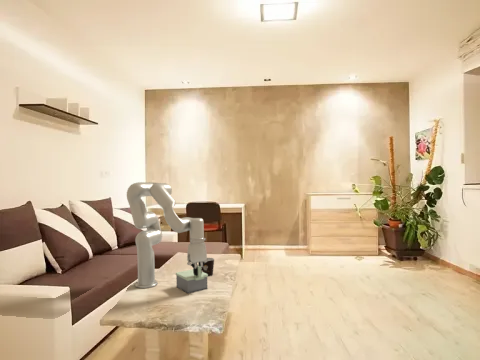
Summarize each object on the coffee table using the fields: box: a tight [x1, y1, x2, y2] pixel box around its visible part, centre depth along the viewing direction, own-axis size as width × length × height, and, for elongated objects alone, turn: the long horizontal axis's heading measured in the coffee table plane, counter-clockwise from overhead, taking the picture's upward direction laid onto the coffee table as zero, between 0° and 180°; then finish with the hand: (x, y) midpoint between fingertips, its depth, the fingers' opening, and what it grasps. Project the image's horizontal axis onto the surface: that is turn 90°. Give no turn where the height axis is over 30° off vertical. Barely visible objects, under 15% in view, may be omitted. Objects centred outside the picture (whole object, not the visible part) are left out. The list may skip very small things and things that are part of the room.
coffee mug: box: [202, 257, 215, 277], centre depth 211 cm, size 12×9×10 cm
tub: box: [175, 274, 208, 295], centre depth 185 cm, size 14×12×7 cm
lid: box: [175, 264, 209, 281], centre depth 184 cm, size 17×13×8 cm
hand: (197, 274), depth 179 cm, fingers closed
